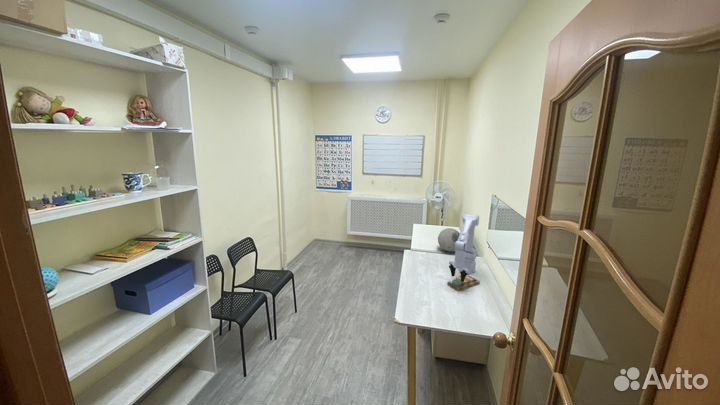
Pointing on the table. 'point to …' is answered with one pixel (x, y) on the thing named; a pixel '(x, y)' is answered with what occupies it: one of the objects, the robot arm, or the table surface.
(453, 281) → the teal block
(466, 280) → the oak slab
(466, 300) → the table surface
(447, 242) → the moon model
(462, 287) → the walnut frame
